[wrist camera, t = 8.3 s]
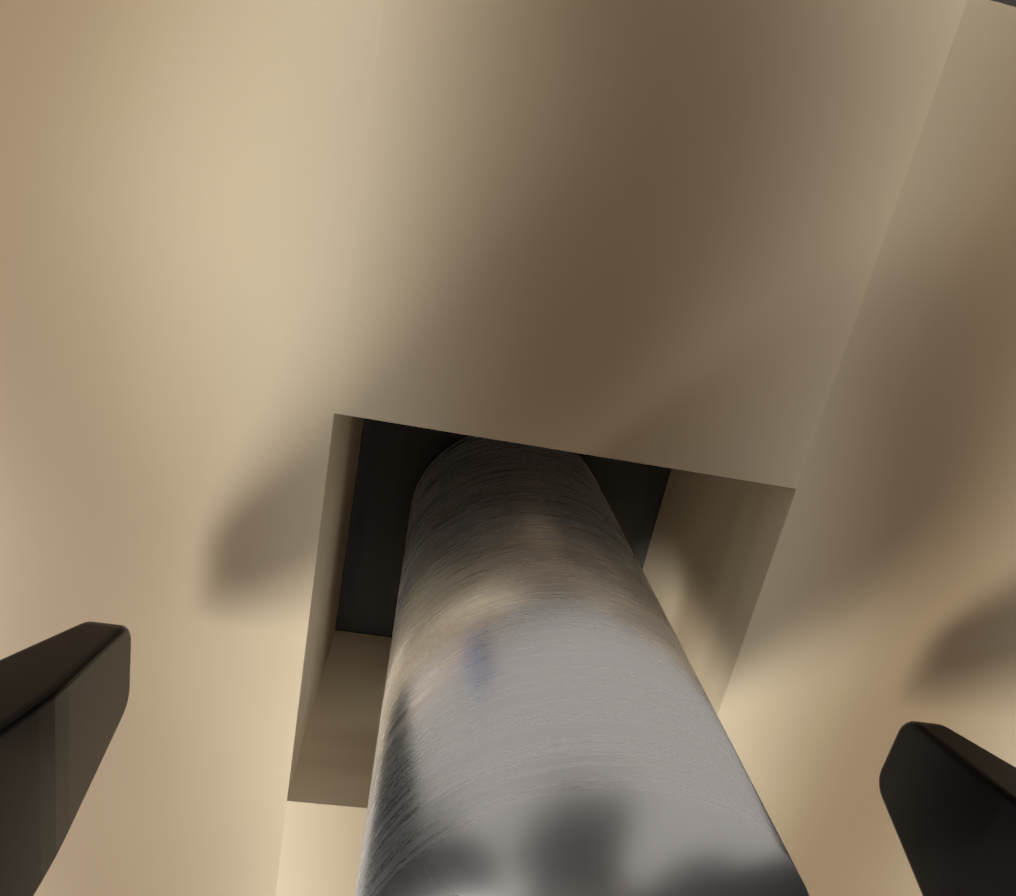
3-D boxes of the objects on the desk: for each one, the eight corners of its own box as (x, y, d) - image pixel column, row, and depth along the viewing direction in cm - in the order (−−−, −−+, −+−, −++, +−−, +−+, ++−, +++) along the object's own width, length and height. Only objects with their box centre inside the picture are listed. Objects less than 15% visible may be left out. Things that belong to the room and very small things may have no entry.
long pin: (622, 444, 12) (888, 820, 5) (578, 614, 13) (737, 1137, 6) (426, 411, 12) (378, 768, 4) (396, 589, 13) (316, 1122, 5)
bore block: (1088, 144, 11) (1409, 113, 7) (778, 881, 16) (876, 1086, 12) (25, -118, 9) (-277, -345, 5) (42, 819, 14) (-108, 1042, 10)
